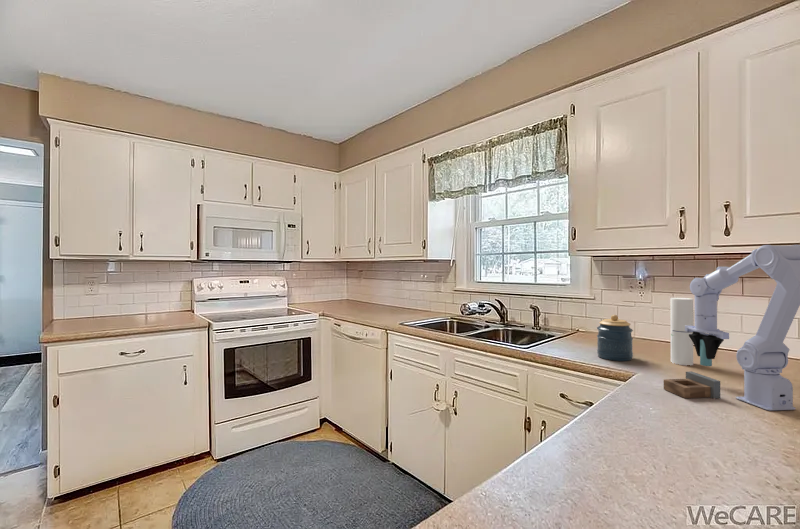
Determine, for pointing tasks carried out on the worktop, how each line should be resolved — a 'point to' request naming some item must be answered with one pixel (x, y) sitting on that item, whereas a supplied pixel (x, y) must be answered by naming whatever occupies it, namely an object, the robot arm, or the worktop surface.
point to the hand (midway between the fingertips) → (705, 357)
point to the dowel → (704, 355)
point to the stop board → (706, 382)
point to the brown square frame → (687, 388)
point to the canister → (614, 339)
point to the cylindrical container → (681, 330)
